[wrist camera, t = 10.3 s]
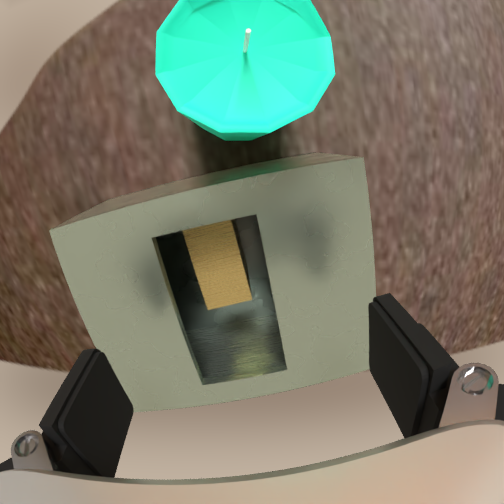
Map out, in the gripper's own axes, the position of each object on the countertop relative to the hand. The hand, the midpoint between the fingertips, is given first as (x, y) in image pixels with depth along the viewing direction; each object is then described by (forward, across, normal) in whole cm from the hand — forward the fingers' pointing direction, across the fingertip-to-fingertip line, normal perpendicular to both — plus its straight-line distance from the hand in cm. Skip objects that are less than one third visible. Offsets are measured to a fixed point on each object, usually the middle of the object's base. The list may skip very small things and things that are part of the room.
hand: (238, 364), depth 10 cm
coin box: (+12, +1, 0) cm, 12 cm away
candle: (+12, -2, -10) cm, 16 cm away
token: (+9, +1, -4) cm, 10 cm away
